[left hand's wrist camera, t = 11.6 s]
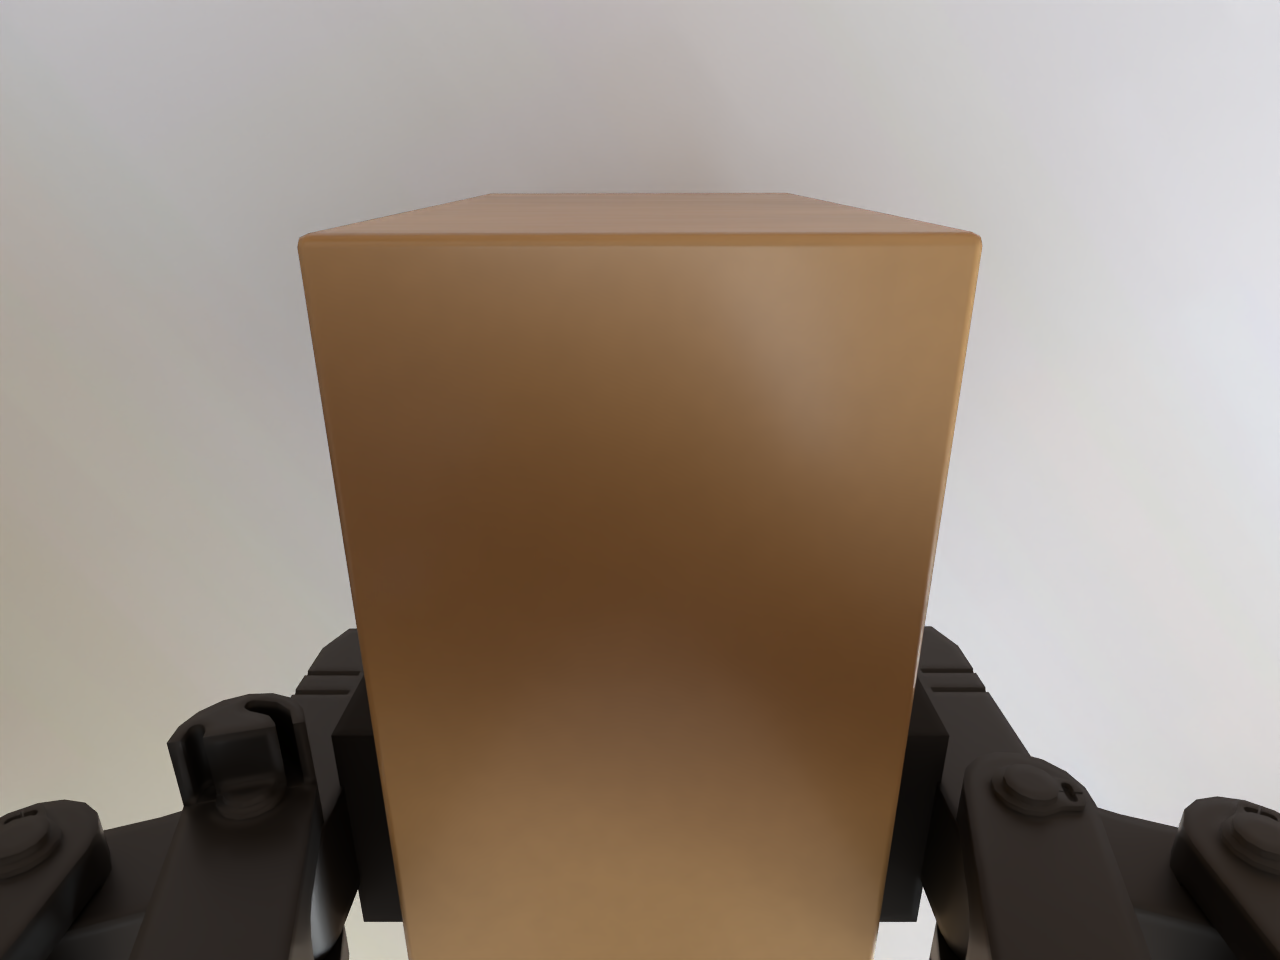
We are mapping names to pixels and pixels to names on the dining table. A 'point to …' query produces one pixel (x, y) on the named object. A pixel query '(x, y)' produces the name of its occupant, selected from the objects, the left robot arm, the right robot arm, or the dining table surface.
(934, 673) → the left robot arm
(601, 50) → the dining table surface
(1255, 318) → the dining table surface
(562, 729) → the beam
